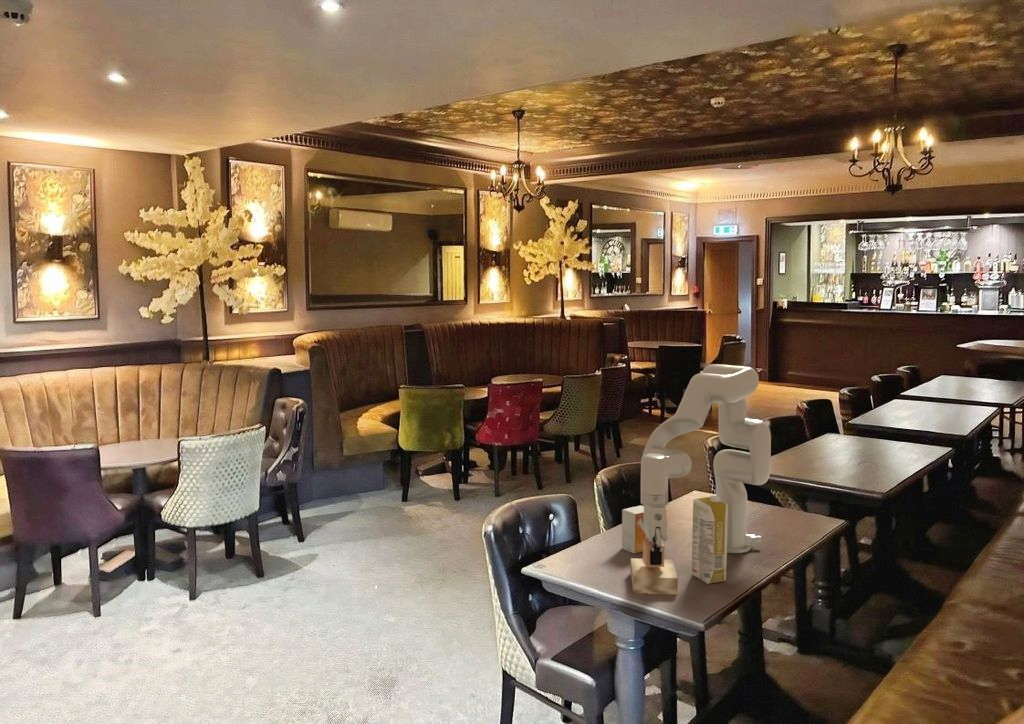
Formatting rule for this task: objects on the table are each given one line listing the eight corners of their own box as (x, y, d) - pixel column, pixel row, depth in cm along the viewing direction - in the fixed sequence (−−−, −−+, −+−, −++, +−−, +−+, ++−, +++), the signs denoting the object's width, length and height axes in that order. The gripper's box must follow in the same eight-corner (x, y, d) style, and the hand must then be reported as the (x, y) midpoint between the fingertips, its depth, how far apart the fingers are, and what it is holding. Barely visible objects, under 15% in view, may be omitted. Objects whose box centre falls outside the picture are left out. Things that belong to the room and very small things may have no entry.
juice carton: (730, 582, 215) (732, 499, 213) (706, 586, 213) (708, 502, 210) (710, 570, 224) (712, 491, 222) (687, 574, 221) (689, 494, 219)
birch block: (672, 576, 221) (672, 559, 221) (677, 595, 207) (677, 578, 207) (630, 574, 222) (630, 558, 222) (633, 594, 209) (633, 576, 208)
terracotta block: (660, 560, 217) (660, 539, 216) (664, 566, 212) (664, 545, 211) (642, 560, 217) (642, 540, 216) (646, 567, 212) (646, 546, 211)
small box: (634, 554, 238) (635, 514, 237) (621, 548, 243) (621, 509, 242) (653, 549, 242) (654, 509, 241) (639, 543, 248) (640, 504, 246)
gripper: (674, 506, 204) (674, 572, 206) (660, 489, 221) (660, 550, 223) (647, 507, 204) (646, 572, 206) (635, 489, 221) (634, 550, 223)
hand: (653, 560), depth 214 cm, fingers closed on terracotta block, 4 cm apart
